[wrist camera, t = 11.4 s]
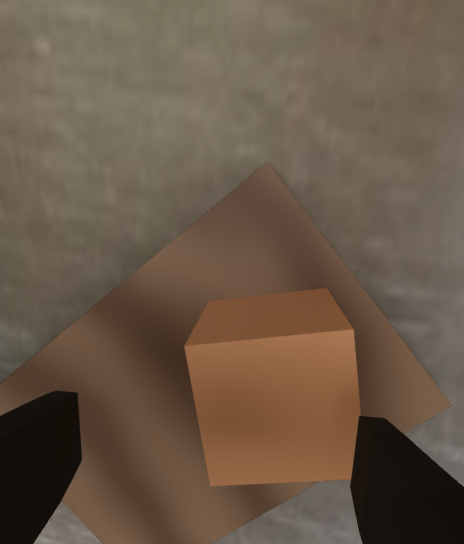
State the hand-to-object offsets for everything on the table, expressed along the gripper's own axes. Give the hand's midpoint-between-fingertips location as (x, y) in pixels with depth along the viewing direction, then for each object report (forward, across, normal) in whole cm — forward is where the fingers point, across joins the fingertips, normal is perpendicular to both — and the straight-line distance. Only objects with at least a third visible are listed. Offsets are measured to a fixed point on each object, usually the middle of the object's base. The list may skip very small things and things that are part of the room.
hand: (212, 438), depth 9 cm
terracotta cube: (+8, -2, +1) cm, 8 cm away
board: (+9, +2, +4) cm, 10 cm away
